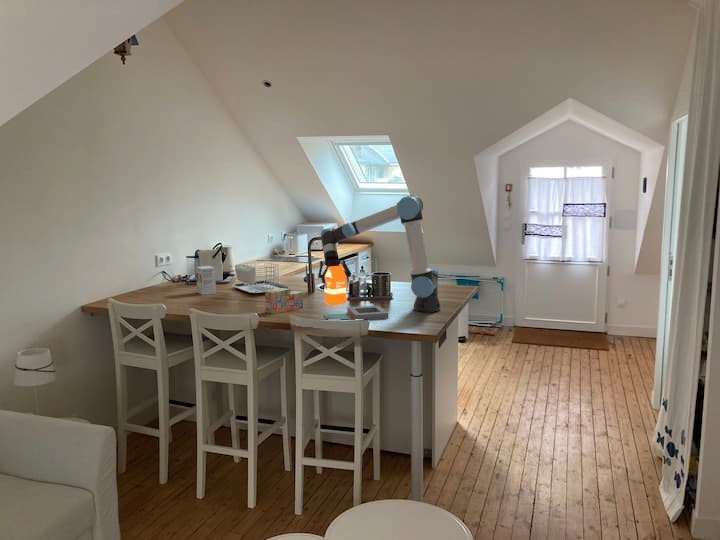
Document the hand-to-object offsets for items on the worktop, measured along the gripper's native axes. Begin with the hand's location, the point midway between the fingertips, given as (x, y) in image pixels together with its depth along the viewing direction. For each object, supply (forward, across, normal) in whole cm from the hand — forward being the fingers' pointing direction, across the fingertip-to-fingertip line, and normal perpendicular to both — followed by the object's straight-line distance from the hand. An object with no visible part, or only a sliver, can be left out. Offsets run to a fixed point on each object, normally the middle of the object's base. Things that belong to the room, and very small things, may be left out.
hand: (336, 287), depth 312 cm
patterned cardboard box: (-7, +24, -32) cm, 40 cm away
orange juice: (+4, 0, -9) cm, 10 cm away
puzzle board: (+10, -17, -14) cm, 24 cm away
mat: (+10, 0, -14) cm, 17 cm away
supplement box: (-49, +67, -74) cm, 111 cm away
